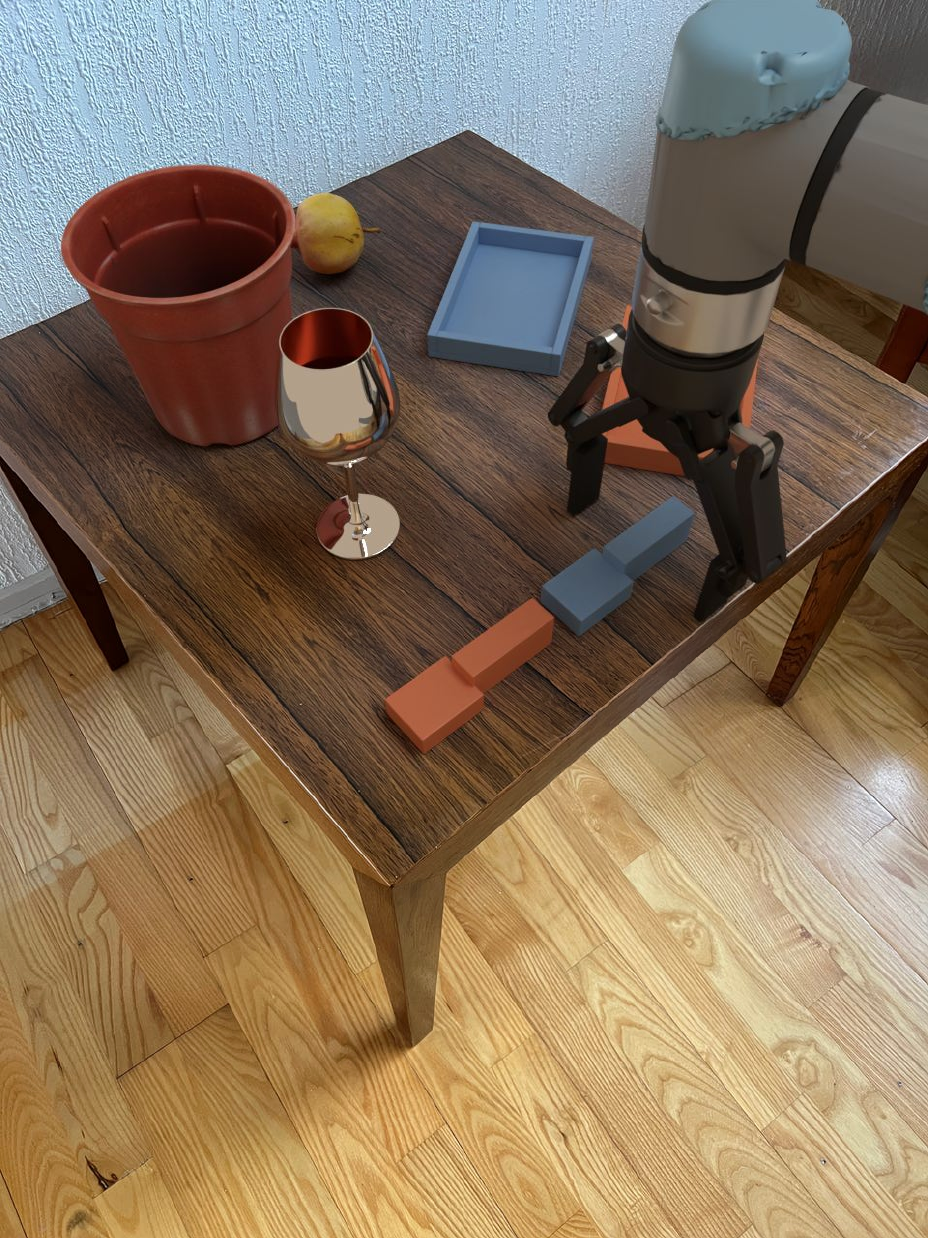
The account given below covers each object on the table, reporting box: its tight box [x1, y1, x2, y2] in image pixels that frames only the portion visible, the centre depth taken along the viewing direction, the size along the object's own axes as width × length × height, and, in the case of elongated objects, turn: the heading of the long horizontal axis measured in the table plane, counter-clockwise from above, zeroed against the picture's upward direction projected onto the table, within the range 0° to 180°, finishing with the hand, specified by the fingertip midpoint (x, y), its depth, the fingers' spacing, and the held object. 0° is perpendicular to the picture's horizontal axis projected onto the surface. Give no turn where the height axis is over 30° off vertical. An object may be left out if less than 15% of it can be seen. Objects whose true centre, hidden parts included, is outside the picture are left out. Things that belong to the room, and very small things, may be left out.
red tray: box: [601, 304, 759, 477], centre depth 79 cm, size 12×17×2 cm
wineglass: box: [274, 307, 401, 561], centre depth 66 cm, size 8×8×18 cm
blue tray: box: [426, 221, 595, 377], centre depth 86 cm, size 12×17×2 cm
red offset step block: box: [384, 597, 555, 755], centre depth 64 cm, size 12×4×3 cm, turn 130°
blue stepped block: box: [540, 495, 696, 637], centre depth 69 cm, size 12×4×3 cm, turn 130°
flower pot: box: [60, 163, 296, 447], centre depth 75 cm, size 16×16×16 cm
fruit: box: [291, 192, 381, 275], centre depth 88 cm, size 7×7×10 cm
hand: (643, 555), depth 71 cm, fingers open, 12 cm apart
